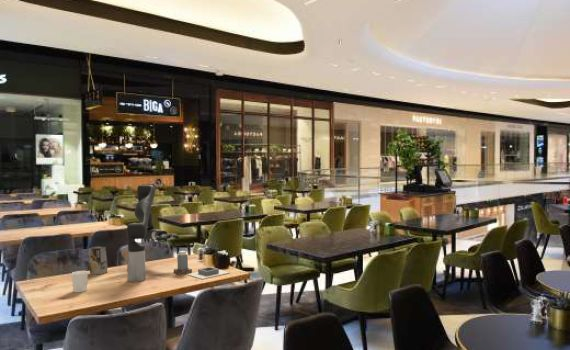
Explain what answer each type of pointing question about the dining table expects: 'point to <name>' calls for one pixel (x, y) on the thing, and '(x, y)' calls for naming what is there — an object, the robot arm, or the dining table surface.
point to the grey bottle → (182, 261)
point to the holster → (182, 271)
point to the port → (208, 273)
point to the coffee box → (98, 260)
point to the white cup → (79, 281)
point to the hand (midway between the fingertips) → (172, 238)
